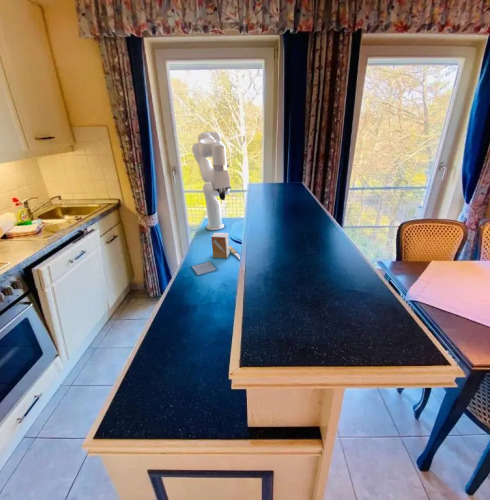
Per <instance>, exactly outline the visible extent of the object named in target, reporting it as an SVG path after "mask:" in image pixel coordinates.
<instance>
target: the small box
mask: <svg viewBox="0 0 490 500" xmlns="http://www.w3.org/2000/svg"><path fill="white" fill-rule="evenodd" d="M210 238H211V248H212V258H213V259H215V258H216V259H228V258H229V256H230V253H231V252H230V251H229V246H230V241H229V240H230V239H229V232H213V234H212V235H211V236H210Z"/></svg>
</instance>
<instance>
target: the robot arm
mask: <svg viewBox="0 0 490 500" xmlns="http://www.w3.org/2000/svg"><path fill="white" fill-rule="evenodd" d="M197 141H198V142H196V143H194V144H193V145H192V150H191V151H192V154H193V157H194V160H195V161H196V163H197V164H198V166H199V170H200V175H201V178H202V181H203V182H204V185H203V186H202V191H203V196H204V200H205V206H206V215H207V224H206V227H205V228H206V229H207V230H210V231H219V230H222V229H224V228H225V224H224V223H223V221H222V209H221V202H220V200H221V201H225V199H226V196H228V195H229V194H230V189H231V188H232V187H231V178H230V173H229V169H228V168H230V164H228V163H227V151H226V145H225V144H224V143H223V142H222V135H221V134H220V132H218V131H205V132H201V133H200V134H199V135H198V137H197ZM208 158H212V159H211V160H212V162H211V160H210V159H208ZM217 197H219V199H220V200H219V199H218V198H217Z"/></svg>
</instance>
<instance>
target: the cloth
mask: <svg viewBox="0 0 490 500" xmlns="http://www.w3.org/2000/svg"><path fill="white" fill-rule="evenodd" d="M191 268H192V269H193V271H194V272H195V274H196V275H197V276H200V275H204V274H208V273H211V272H215V271H217V269H216V267H215V266H214V265H213V264H212V262H211V261H207V262H203V263H199V264H196V265H192V266H191Z"/></svg>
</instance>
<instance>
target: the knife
mask: <svg viewBox="0 0 490 500" xmlns="http://www.w3.org/2000/svg"><path fill="white" fill-rule="evenodd" d="M229 252H230V253H231V254H232V255H233V256H234V257H236V258H237V259H238V260H239V261H241V260H240V256H241V255H240V254H239V253H238V252H237V250H236V249H235V248H234V247H233V246H231V245H229Z"/></svg>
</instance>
